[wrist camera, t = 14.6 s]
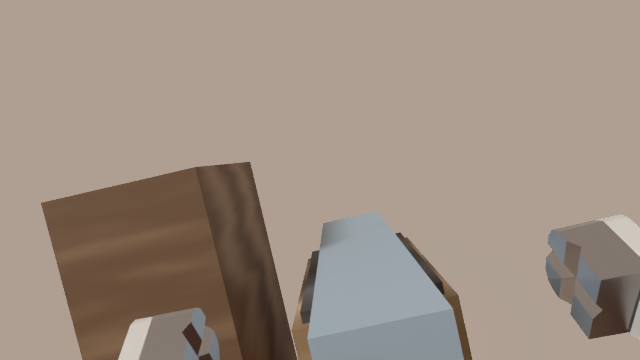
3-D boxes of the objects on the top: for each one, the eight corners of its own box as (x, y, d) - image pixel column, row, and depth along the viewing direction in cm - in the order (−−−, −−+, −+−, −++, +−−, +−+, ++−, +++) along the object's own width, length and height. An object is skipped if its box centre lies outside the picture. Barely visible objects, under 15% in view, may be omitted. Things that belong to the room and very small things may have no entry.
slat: (465, 365, 13) (453, 308, 13) (320, 395, 13) (307, 339, 13) (382, 232, 35) (377, 211, 35) (328, 244, 35) (323, 223, 35)
